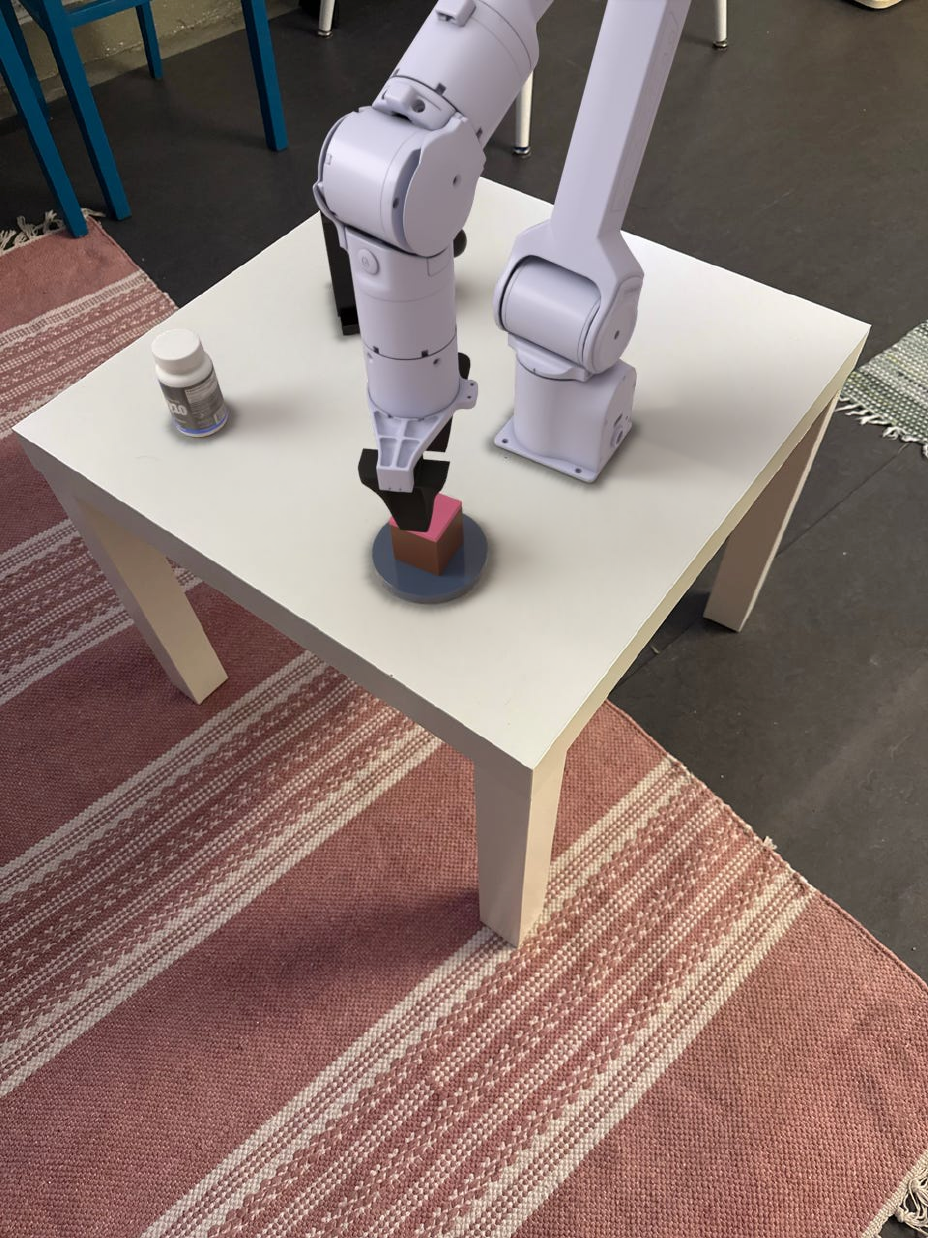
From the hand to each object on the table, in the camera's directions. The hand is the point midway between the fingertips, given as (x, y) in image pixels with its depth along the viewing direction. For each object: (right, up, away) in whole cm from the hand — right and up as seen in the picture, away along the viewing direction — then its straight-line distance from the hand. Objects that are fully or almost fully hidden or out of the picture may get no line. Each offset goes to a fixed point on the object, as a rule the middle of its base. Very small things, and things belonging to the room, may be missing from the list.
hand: (423, 486), depth 65 cm
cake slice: (0, -4, +6) cm, 7 cm away
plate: (0, -5, +6) cm, 8 cm away
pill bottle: (-20, +8, +16) cm, 27 cm away
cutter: (-3, +25, +20) cm, 33 cm away
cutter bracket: (-7, +21, +25) cm, 33 cm away
